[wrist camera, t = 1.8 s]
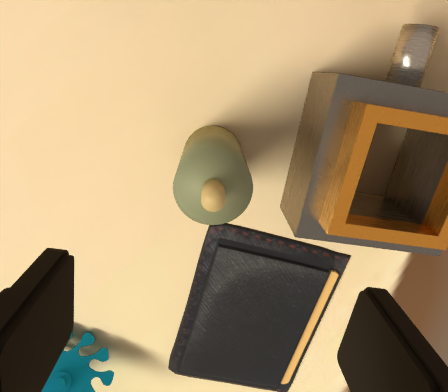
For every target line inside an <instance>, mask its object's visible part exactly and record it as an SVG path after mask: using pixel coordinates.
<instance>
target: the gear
mask: <svg viewBox="0 0 448 392" xmlns="http://www.w3.org/2000/svg"><path fill="white" fill-rule="evenodd" d="M72 336H73V331H72V333H71V336H70V338H71V337H72ZM70 338H69V339H70ZM94 341H95V339H94V337H93V336H92V335H91V334H90V333H89V332H87V333H85V334H84V335H83V336H82V339H81V341H80V342H79V344H78V345H77V346H76V347H74V348H73V349H71V350H70V351H64V350H63V351H62V353H61V355H60V357H59V359H58V361H57V363H56V365H55V367H54V369H53V370H52V372H51V374H50V376H49V378H48V380H47V382H46V384H45V386H44V387H43V389H42V391H41V392H95V391H94V389H93V387H92V385H91V380H92V379H93V378H94V377H99V378H100V379H101V381H102V383H103V384H104V385H106V386H109V385H110V384H111V382H112V380H113V376H114V372H113V371H110V370H109V371H105V372H98V371H95V370H93V369H91V368H90V367H89V362H90V361H91V360H92V359H97V360H99V361H102V362H104V361H107V360H108V357H109V356H108V350H107V348H101V349H100V350H99V351H98V352H97V353H95V354H93V355H90V356H81V355H80V354H79V349H80V347H82V346H88V345H91V344H92V343H93V342H94Z"/></svg>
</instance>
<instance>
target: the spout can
mask: <svg viewBox="0 0 448 392" xmlns="http://www.w3.org/2000/svg"><path fill="white" fill-rule="evenodd" d="M173 193H174V197H175V200H176V203H177V204H178V206H179V208H180V209H181V210H182V212H183V213H184V214H185V215H187V216H188V217H189V218H191V219H192V220H194V221H196V222H199V223H202V224H207V225H219V224H224V223H227V222H230V221H232V220H234V219H235V218H237V217H238V216H239V215H241V214H242V213H243V212H244V210H245V209H246V208H247V206H248V204H249V202H250V200H251V197H252V193H253V182H252V178H251V174H250V172H249V169H248V166H247V164H246V161H245V158H244V155H243V153H242V150H241V147H240V145H239V142H238V140H237V139H236V137H235V136H234V135H233V134H232V133H231V132H230V131H228V130H227V129H225V128H222V127H219V126H206V127H202V128H200V129H198V130H197V131H195V132H194V133H193V134H192V135H191V136H190V137H189V139H188V140H187V142H186V145H185V148H184V151H183V154H182V157H181V160H180V163H179V166H178V169H177V172H176V175H175V178H174V182H173Z"/></svg>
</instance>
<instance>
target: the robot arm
mask: <svg viewBox="0 0 448 392" xmlns="http://www.w3.org/2000/svg"><path fill="white" fill-rule="evenodd" d="M73 324H74V256H72V255H69V253H68V251H67V250H62V249H54V248H47V249H46V250H45V251H44V252H43V253H42V254H41V255H40V256H39V257H38V258H37V259H36V260H35V261H34V262H33V264H32V265H31V266H30V267H29V268H28V269H27V270H26V271H25V272H24V273H23V274H22V276H21V277H20V278H19V279H18V280H17V281H16V282H15V283H14V284H13V285H12V286H11V287H10V288H6V289H4V290H3V291H1V292H0V392H41V391H42V389H43V387H44V386H45V384H46V382H47V380H48V378H49V376H50V374H51V372H52V370H53V369H54V367H55V365H56V363H57V361H58V359H59V357H60V355H61V353H62V351H63V350H64V348H65V346H66V344H67V342H68V340H69V338H70V336H71V333H72V330H73ZM337 359H338V363H339V366H340V368H341V371H342V373H343V375H344V378H345V380H346V382H347V384H348V387H349V389H350V391H351V392H448V367H447V365H446V364H445V363H444V361H443V360H442V359H441V358H440V357H439V355H438V354H437V353H436V352H435V350H434V349H433V348H432V347H431V345H430V344H429V343H428V341H427V340H426V339H425V338H424V336H423V335H422V334H421V333H420V331H419V330H418V329H417V327H416V326H415V325H414V324H413V322H412V321H411V320H410V319H409V317H408V316H407V315H406V314H405V312H404V311H403V310H402V309H401V307H400V306H399V305H398V304H397V303H396V301H395V300H394V299H393V297H392V296H391V295H390V293H389V292H388V291H387V290H386V289H380V288H372V287H367V288H366V289H365V290H364V291H361V292H360V293H359V295H358V298H357V301H356V304H355V306H354V309H353V312H352V314H351V317H350V320H349V323H348V325H347V328H346V331H345V333H344V336H343V339H342V342H341V344H340V347H339V350H338V354H337Z"/></svg>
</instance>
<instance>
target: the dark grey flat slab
mask: <svg viewBox="0 0 448 392" xmlns="http://www.w3.org/2000/svg"><path fill="white" fill-rule="evenodd" d="M350 256H351V255H346V254H342V253H338V252H334V251H331V250H328V249H325V248H323V247H319V246H315V245H311V244H308V243H304V242H300V241H296V240H292V239H288V238H284V237H280V236H276V235H272V234H268V233H265V232H261V231H257V230H253V229H249V228H245V227H241V226H236V225H232V224H227V223H224V224H219V225H209V228H208V231H207V234H206V237H205V240H204V243H203V246H202V250H201V253H200V257H199V260H198V264H197V268H196V272H195V275H194V279H193V283H192V286H191V290H190V294H189V298H188V301H187V305H186V308H185V311H184V315H183V318H182V321H181V324H180V327H179V331H178V334H177V337H176V340H175V343H174V346H173V349H172V352H171V355H170V360H169V367H168V369H170V370H171V371H172V372H174V373H175V374H178V375H183V376H188V377H193V378H199V379H206V380H212V381H218V382H225V383H231V384H236V385H242V386H247V387H253V388H258V389H265V390H271V391H277V392H287V391H288V390H289V388H290V386H291V384H292V382H293V380H294V378H295V375H296V373H297V370H298V368H299V366H300V363H301V361H302V359H303V357H304V355H305V353H306V351H307V348H308V346H309V344H310V342H311V340H312V338H313V336H314V333H315V331H316V329H317V327H318V325H319V323H320V321H321V318H322V316H323V314H324V312H325V310H326V308H327V306H328V303H329V301H330V299H331V297H332V295H333V293H334V291H335V288H336V286H337V284H338V282H339V280H340V278H341V276H342V274H343V271H344V269H345V267H346V265H347V263H348V261H349V259H350Z"/></svg>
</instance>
